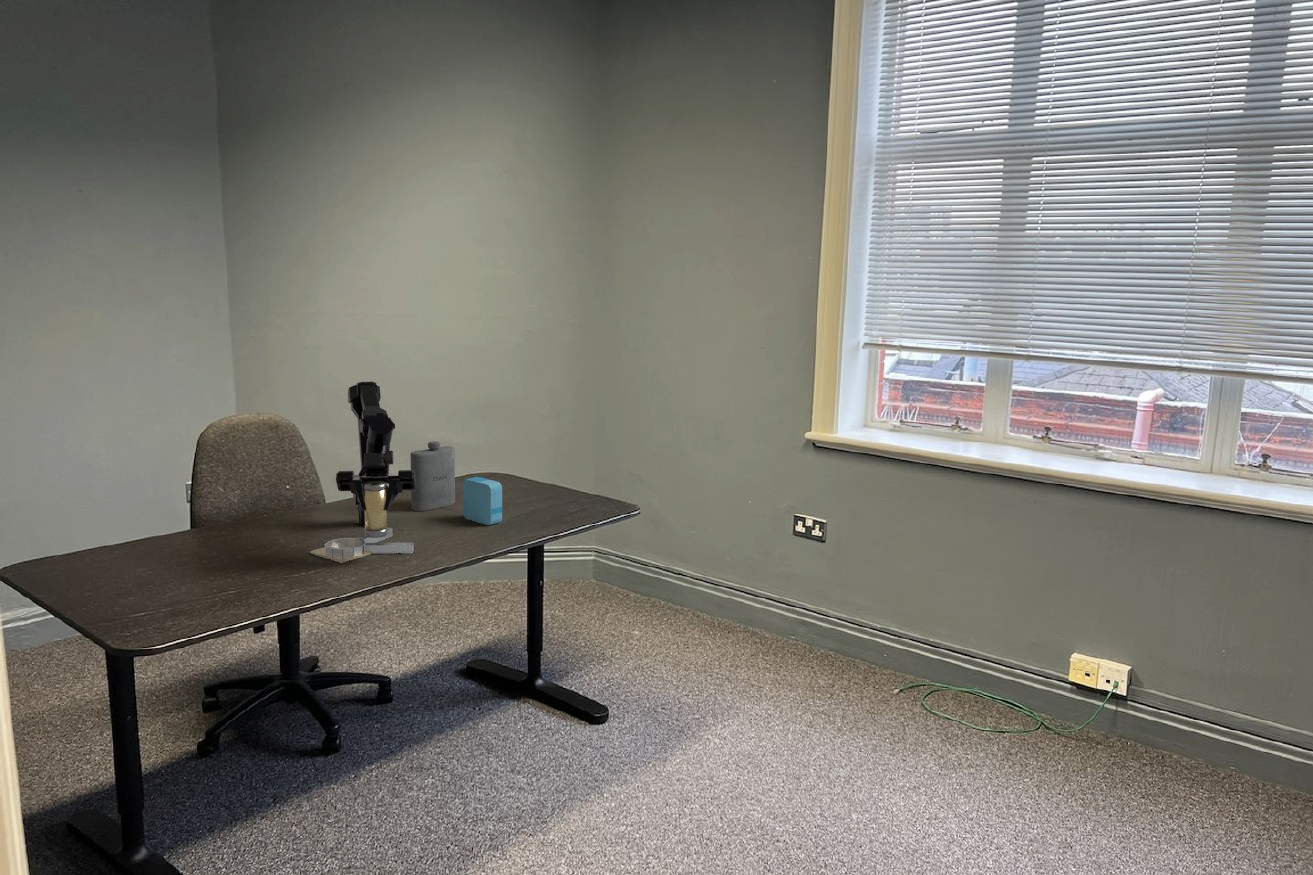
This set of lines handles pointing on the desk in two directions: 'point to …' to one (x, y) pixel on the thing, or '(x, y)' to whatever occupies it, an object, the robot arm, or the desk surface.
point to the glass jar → (375, 509)
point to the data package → (482, 500)
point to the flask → (433, 477)
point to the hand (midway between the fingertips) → (374, 510)
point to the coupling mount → (360, 548)
